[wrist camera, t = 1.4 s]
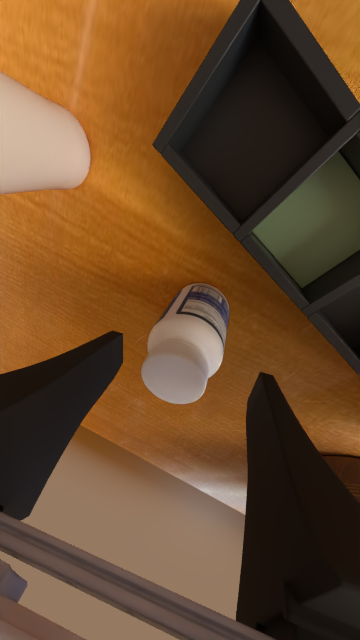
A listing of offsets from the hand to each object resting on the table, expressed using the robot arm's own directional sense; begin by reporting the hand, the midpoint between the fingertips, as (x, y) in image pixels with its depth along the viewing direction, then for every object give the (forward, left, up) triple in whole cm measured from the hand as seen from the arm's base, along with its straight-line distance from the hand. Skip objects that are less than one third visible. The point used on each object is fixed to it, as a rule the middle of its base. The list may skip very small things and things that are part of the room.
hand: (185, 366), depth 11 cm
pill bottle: (-1, +2, -10) cm, 11 cm away
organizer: (+3, -8, -10) cm, 14 cm away
